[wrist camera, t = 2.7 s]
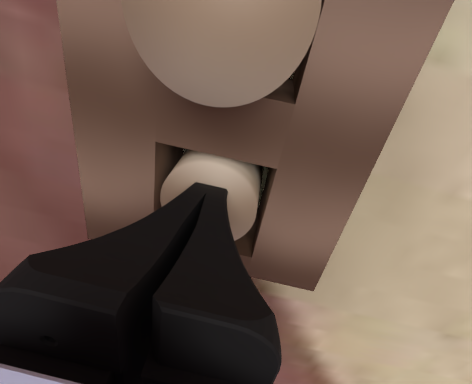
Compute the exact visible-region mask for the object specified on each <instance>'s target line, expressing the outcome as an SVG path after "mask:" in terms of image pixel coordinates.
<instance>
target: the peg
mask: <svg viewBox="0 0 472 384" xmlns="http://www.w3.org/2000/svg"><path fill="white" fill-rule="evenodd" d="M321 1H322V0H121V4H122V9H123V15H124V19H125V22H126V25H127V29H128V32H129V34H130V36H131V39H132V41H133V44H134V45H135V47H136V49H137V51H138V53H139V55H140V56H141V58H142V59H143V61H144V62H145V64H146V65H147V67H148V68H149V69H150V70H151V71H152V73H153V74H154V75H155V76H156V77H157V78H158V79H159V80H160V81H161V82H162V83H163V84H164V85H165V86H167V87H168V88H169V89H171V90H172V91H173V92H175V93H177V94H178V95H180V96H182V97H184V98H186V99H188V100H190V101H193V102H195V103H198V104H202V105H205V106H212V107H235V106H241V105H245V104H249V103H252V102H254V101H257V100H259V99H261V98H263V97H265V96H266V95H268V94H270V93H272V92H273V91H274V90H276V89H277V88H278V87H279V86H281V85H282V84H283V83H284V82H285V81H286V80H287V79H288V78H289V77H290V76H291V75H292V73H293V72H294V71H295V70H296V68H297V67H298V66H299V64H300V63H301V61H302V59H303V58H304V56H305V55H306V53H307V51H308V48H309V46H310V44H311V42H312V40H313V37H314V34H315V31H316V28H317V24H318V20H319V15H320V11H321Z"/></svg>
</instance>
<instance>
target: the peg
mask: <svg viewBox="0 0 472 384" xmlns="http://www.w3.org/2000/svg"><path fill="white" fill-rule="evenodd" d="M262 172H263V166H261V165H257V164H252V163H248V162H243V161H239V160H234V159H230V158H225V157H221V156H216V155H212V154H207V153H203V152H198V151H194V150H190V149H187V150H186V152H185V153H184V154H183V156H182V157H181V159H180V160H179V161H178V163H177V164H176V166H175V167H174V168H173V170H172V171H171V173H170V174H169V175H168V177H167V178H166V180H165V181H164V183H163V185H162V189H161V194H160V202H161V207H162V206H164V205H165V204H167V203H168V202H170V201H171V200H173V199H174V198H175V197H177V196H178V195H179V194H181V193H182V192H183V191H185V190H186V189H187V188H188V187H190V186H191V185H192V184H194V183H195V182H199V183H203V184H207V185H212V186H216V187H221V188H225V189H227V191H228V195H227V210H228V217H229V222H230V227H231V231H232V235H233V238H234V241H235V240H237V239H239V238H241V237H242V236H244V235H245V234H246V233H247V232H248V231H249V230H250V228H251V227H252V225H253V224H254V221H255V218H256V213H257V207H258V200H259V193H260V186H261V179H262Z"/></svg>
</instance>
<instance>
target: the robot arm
mask: <svg viewBox="0 0 472 384" xmlns="http://www.w3.org/2000/svg"><path fill="white" fill-rule="evenodd" d="M227 195H228V191H227V189H225V188H221V187H216V186H212V185H207V184H203V183H199V182H195V183H194V184H192V185H191V186H190V187H188V188H187V189H186V190H185V191H183V192H182V193H181V194H179V195H178V196H177V197H175V198H174V199H173V200H171V201H170V202H168V203H167V204H165V205H164V206H162V207H161V208H159V209H158V210H156V211H154V212H153V213H151V214H149V215H148V216H146V217H144V218H142V219H140V220H139V221H137V222H134V223H132V224H130V225H128V226H126V227H124V228H121V229H118V230H116V231H113V232H111V233H108V234H106V235H103V236H101V237H98V238H94V239H91V240H88V241H85V242H82V243H78V244H75V245H71V246H67V247H63V248H59V249H55V250H50V251H46V252H41V253H37V254H32V255H29V256H28V257H27V258H26V259H25V260H24V261H22V262H21V263H20V264H19V265H18V266H17V267H16V268H15V269H14V270H13V271H12V272H11V273H10V274H9V275H8V276H7V277H5V278H4V279H3V280H2V281H1V282H0V384H273V382H274V380H275V378H276V376H277V374H278V372H279V370H280V366H281V345H280V338H279V333H278V327H277V323H276V319H275V315H274V313H273V312H272V310H271V309H270V308H269V306H268V305H267V303H266V302H265V301H264V299H263V298H262V296H261V295H260V293H259V291H258V290H257V288H256V287H255V285H254V283H253V282H252V280H251V278H250V276H249V274H248V272H247V270H246V268H245V266H244V264H243V262H242V260H241V257H240V255H239V253H238V250H237V247H236V244H235V241H234V238H233V235H232V231H231V227H230V222H229V217H228V210H227Z"/></svg>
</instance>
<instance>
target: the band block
mask: <svg viewBox="0 0 472 384" xmlns="http://www.w3.org/2000/svg"><path fill="white" fill-rule="evenodd" d="M56 2H57V9H58V17H59V24H60V32H61V40H62V47H63V55H64V62H65V70H66V77H67V85H68V92H69V100H70V107H71V115H72V122H73V130H74V137H75V145H76V152H77V160H78V167H79V175H80V182H81V190H82V197H83V205H84V212H85V220H86V227H87V235H88V239H94V238H98V237H101V236H103V235H106V234H108V233H111V232H113V231H116V230H118V229H121V228H124V227H126V226H128V225H130V224H132V223H134V222H137V221H139V220H140V219H142V218H144V217H146V216H148V215H149V214H151V213H153V212H154V211H156V210H158V209H159V208H161V202H160V194H161V189H162V185H163V183H164V181H165V180H166V178H167V177H168V175H169V174H170V173H171V171H172V170H173V168H174V167H175V166H176V164H177V163H178V161H179V160H180V159H181V157H182V156H183V148H185V149H190V150H194V151H198V152H203V153H207V154H212V155H216V156H221V157H225V158H230V159H234V160H239V161H243V162H248V163H252V164H257V165H261V166H266V167H269V171H268V175H267V179H266V182H265V186H264V190H263V194H262V197H261V201H260V205H259V208H258V207H257V213H256V218H255V221H254V224H253V225H252V227H251V228H250V230H249V231H248V232H247V233H246V234H245V235H244V236H242V237H241V238H239V239H237V240H235V244H236V247H237V250H238V253H239V255H240V257H241V260H242V262H243V264H244V266H245V268H246V270H247V272H248V274H249V276H250V277H254V278H259V279H263V280H267V281H272V282H276V283H280V284H284V285H289V286H293V287H297V288H301V289H306V290H310V291H314V289H315V287H316V285H317V283H318V281H319V279H320V277H321V275H322V273H323V271H324V269H325V266H326V264H327V262H328V260H329V258H330V256H331V254H332V252H333V250H334V248H335V246H336V244H337V242H338V240H339V238H340V235H341V233H342V231H343V229H344V227H345V225H346V223H347V221H348V219H349V217H350V215H351V213H352V211H353V209H354V207H355V204H356V202H357V200H358V198H359V196H360V194H361V192H362V190H363V188H364V186H365V184H366V182H367V180H368V178H369V176H370V173H371V171H372V169H373V167H374V165H375V163H376V161H377V159H378V157H379V155H380V153H381V151H382V149H383V147H384V145H385V142H386V140H387V138H388V136H389V134H390V132H391V130H392V128H393V126H394V124H395V122H396V120H397V118H398V116H399V113H400V111H401V109H402V107H403V105H404V103H405V101H406V99H407V97H408V95H409V93H410V91H411V89H412V87H413V85H414V82H415V80H416V78H417V76H418V74H419V72H420V70H421V68H422V66H423V64H424V62H425V60H426V58H427V56H428V54H429V51H430V49H431V47H432V45H433V43H434V41H435V39H436V37H437V35H438V33H439V31H440V29H441V27H442V25H443V23H444V20H445V18H446V16H447V14H448V12H449V10H450V8H451V6H452V4H453V2H454V0H322V1H321V11H320V15H319V20H318V24H317V28H316V31H315V34H314V37H313V40H312V42H311V44H310V46H309V48H308V51H307V53H306V55H305V56H304V58H303V59H302V61H301V63H300V64H299V66H298V67H297V68H296V70H295V74H294V77H293V80H292V79H287V80H286V81H285V82H284V83H283V84H282V85H281V86H279V87H278V88H277V89H276V90H274V91H273V92H272V93H270V94H268V95H266V96H265V97H263V98H261V99H259V100H257V101H254V102H252V103H249V104H245V105H241V106H235V107H212V106H205V105H202V104H198V103H195V102H193V101H190V100H188V99H186V98H184V97H182V96H180V95H178V94H177V93H175V92H173V91H172V90H171V89H169V88H168V87H167V86H165V85H164V84H163V83H162V82H161V81H160V80H159V79H158V78H157V77H156V76H155V75H154V74H153V73H152V71H151V70H150V69H149V68H148V67H147V65H146V64H145V62H144V61H143V59H142V58H141V56H140V55H139V53H138V51H137V49H136V47H135V45H134V44H133V41H132V39H131V36H130V34H129V32H128V29H127V25H126V22H125V19H124V15H123V9H122V4H121V0H56Z"/></svg>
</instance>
